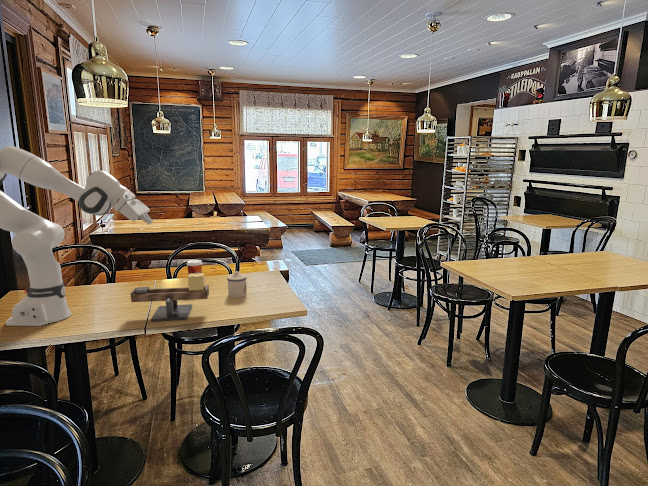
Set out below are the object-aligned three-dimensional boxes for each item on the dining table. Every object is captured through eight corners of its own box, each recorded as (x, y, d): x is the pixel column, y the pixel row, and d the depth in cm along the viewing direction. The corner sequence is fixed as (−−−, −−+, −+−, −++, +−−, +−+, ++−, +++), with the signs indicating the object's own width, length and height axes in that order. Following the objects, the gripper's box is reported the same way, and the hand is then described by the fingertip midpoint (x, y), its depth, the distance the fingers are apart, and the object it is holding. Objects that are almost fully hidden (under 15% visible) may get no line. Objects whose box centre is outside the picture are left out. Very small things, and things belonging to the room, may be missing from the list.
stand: (151, 321, 169) (149, 300, 168) (159, 308, 184) (157, 289, 182) (187, 319, 172) (185, 298, 170) (192, 306, 186) (191, 287, 184)
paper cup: (199, 290, 208) (197, 263, 205) (185, 289, 209) (183, 262, 206) (206, 286, 215) (205, 259, 212) (193, 285, 217) (191, 259, 214)
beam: (131, 304, 171) (130, 293, 170) (136, 299, 177) (135, 287, 176) (207, 301, 175) (206, 289, 174) (209, 295, 182) (208, 284, 181)
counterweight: (136, 297, 172) (135, 290, 171) (138, 293, 176) (138, 287, 175) (147, 296, 172) (146, 289, 172) (149, 293, 177) (149, 286, 176)
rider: (189, 295, 175) (187, 276, 173) (190, 291, 179) (189, 273, 178) (203, 294, 176) (202, 276, 174) (205, 291, 180) (204, 273, 179)
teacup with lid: (248, 297, 199) (247, 273, 196) (228, 299, 196) (227, 275, 194) (245, 289, 210) (244, 267, 208) (226, 291, 207) (225, 268, 205)
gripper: (127, 203, 187) (152, 224, 190) (111, 209, 167) (140, 232, 171) (136, 193, 187) (161, 214, 190) (122, 197, 167) (150, 221, 170)
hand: (151, 222), depth 180 cm, fingers closed
